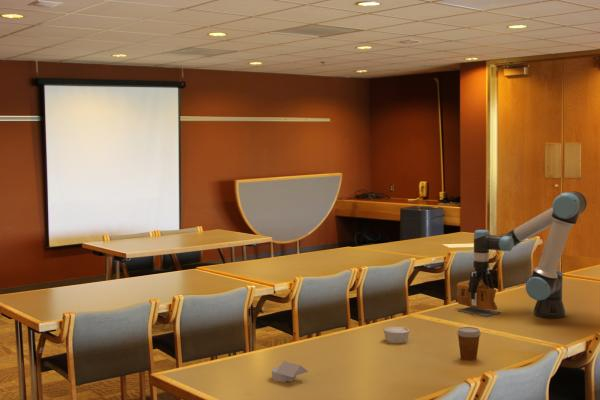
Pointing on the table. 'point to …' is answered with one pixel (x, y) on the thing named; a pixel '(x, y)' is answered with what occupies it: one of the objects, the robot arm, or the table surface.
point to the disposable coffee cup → (468, 342)
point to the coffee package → (483, 296)
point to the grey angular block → (287, 372)
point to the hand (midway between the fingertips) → (480, 303)
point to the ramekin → (396, 334)
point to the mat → (479, 311)
